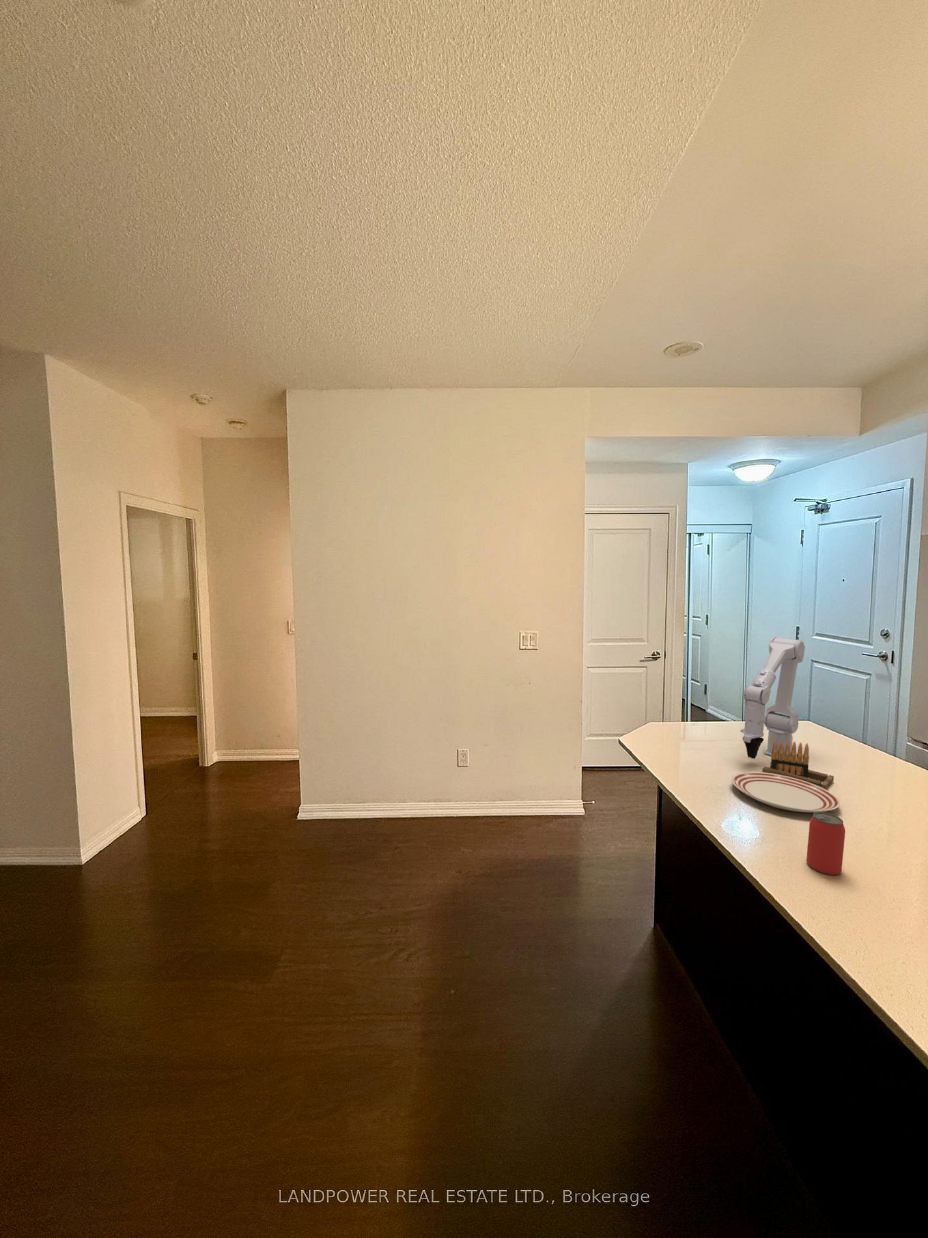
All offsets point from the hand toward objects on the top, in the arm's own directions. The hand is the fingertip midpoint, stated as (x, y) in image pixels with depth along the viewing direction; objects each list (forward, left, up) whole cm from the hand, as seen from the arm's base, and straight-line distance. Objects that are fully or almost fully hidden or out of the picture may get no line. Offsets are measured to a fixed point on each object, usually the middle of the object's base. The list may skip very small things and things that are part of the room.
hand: (751, 757), depth 173 cm
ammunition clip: (0, +11, -3) cm, 12 cm away
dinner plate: (+21, +15, -3) cm, 26 cm away
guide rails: (0, +13, -3) cm, 13 cm away
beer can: (+55, +32, -3) cm, 64 cm away
